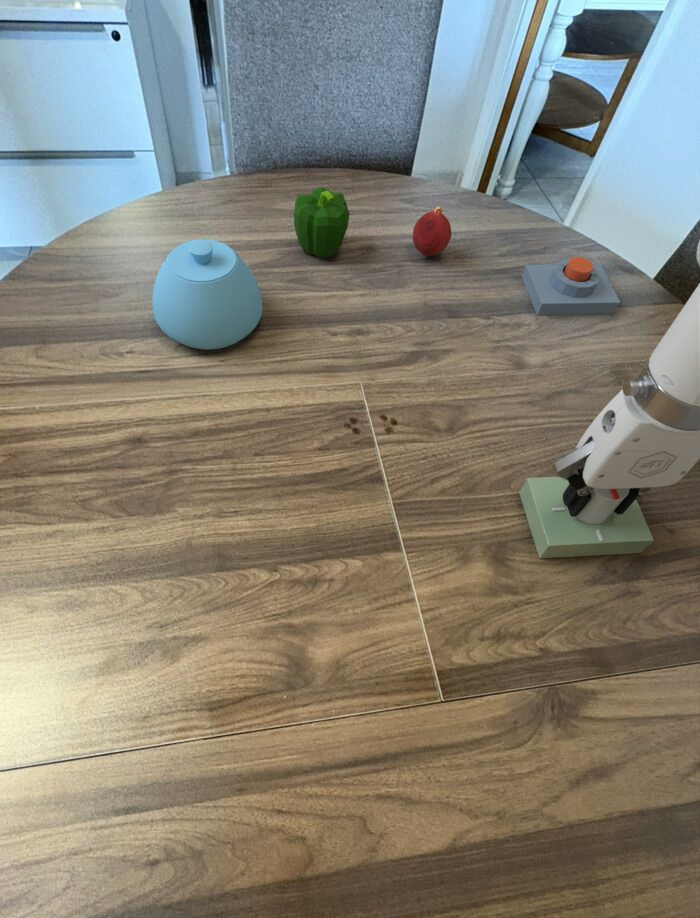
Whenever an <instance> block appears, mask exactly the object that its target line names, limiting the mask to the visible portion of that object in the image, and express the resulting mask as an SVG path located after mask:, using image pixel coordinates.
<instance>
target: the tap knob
mask: <svg viewBox="0 0 700 918" xmlns="http://www.w3.org/2000/svg"><path fill="white" fill-rule="evenodd" d="M629 490H630V488H623V489H596V488H595V489H594V490H593V491H592V492H590V493H591V499H590V501H589V502H588V503H587V504H586V506H585V507H584V508H583V510H582V511H581V512H580V514H579V515H577V516H576V517H577V518H578V519H580V520H581V521H583V522H585V523H588V524H600V523H603V522H604V521H606V520H607V518H608V517H609V516H610V515H611V514H612V513H613V511H614V510H615V509H616V508H617V507H618V506H619V504H620V503H621V502H622V501H623V500H624V499H625V497H626V496H627V495H628V493H629Z"/></svg>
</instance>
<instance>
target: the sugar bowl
mask: <svg viewBox="0 0 700 918" xmlns="http://www.w3.org/2000/svg"><path fill="white" fill-rule="evenodd" d="M262 298H263V297H262V294H261V289H260V287H259V284H258V281H257V280H256V277H255V275H254V274H253V272H252V271H251V269H250V267H249V266H248V265H247V263H246V262H245V261H244V260H243V259H242V258H241V256H240V255H239V254H238V253H237V252H236V251H235V250H233V248H232V247H230V246H229V245H227V244H226V243H224V242H221V241H219V240H215V239H209V238H208V239H207V238H201V239H200V238H198V239H192V240H188V241H185V242H183V243H181V244H179V245H177V246H175V247H174V248H173V249H172V250H171V251H170V252H169V253H168V255H167V257H166V258H165V260H164V262H163V263H162V265H161V267H160V269H159V271H158V273H157V275H156V278H155V281H154V285H153V289H152V298H151V299H152V300H151V301H152V306H151V307H152V313H153V317H154V321H155V323H156V324H157V325H158V327H159V329H160V330H162V332H163V333H164V334H165V335H167V336H168V337H169V338H171V339H172V340H173V341H175V342H177V343H179V344H181V345H183V346H185V347H189V348H192V349H196V350H205V351H210V350H211V351H213V350H220V349H224V348H228V347H231V346H233V345H235V344H237V343H239V342H240V341H242V340H243V339H245V338H246V337H247V336H248V335H249V334H251V333H252V331H254V330H255V329H256V327H258V324H259V322H260V320H261V318H262V315H263V309H264V307H263V299H262Z"/></svg>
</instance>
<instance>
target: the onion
mask: <svg viewBox="0 0 700 918" xmlns="http://www.w3.org/2000/svg"><path fill="white" fill-rule="evenodd" d="M443 211H444V210H443V208H442V207H441V206H436V207H435V208H434V209H433V210H432V211H429V212H426V213H424V214H423V215H422V216H421V217H420V218H419V219H418V220H417V221H416V222H415V225H414V227H413V229H412V244H413V245H414V248H415V250H417V251H418V253H421V254H422V255H423V256H425V257H431V256H435V255H437V254H440V253H441V252H443V251H444V250H445V249H446V248H447V247H448V245H449V243H450V241H451V239H452V234H453V233H452V227H451V222H450V221H449V219H448V218H447V217H446V216H445V215H444V214H443Z"/></svg>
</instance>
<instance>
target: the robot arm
mask: <svg viewBox="0 0 700 918" xmlns="http://www.w3.org/2000/svg"><path fill="white" fill-rule="evenodd" d="M695 255H696V257H695V258H696V261H697V264H698V266H699V267H700V240H699V241H698V243H697V247H696V254H695ZM699 460H700V282H699V283H698V285H697V287H696V288H694V290H693V292H692V293H691V295H690V297H689V298H688V300H687V301H686V302H685V304H684V306H683V307H682V308H681V310H680V312H679V313H678V314H677V316H676V317H675V319H674V320H673V322H672V323H671V325H670V326H669V327H668V329H667V331H666V332H665V334H664V335H663V336H662V338H661V339H660V341H659V342H658V344H657V345H656V347H655V348H654V349H653V351H652V353H651V355H649V357H648V359H647V360H646V362H645V363H644V365H643V366H642V368H641V369H640V371H639V372H638V374H637V375H636V377H635V378H634V379H632V380H631V379H630V380H629V379H628V380H626V381H625V382H624V383H623V385H622V389H621V390H620V391H618V393H617V394H615V396H614V397H613V398H612V399H611V400H610V401H609V402H608V403H607V404H606V405H605V406H604V408H602V410H601V411H600V412H599V413H598V414H597V415H596V417H595V418H594V419H593V420H592V422H591V423H590V425H589V426H588V427H587V429H586V430H585V431H584V433H583V435H582V436H581V437H580V439H579V441H578V443H577V444H576V445H575V449H574V450H573V451H572V452H570V453H568V454H566V455H564V456H563V457H561V458H560V459H557V460H556V461H554V462H553V464H552V466H553V469H554V473H555V475H556V477H561V478H563V479H564V480H568V482H569V485H568V487H567V488H566V490H565V491H564V493H563V502H564V504H565V506H567V507H568V510H569V513H570V516H571V517H574V516H577V515H579V514H580V512H581V511H582V510H583V508H584V507H585V506H586V504H587V503H588V502H589V501H590V499H591V493H590V492H592V491H593V490H594V489H595V488H596V489H623V488H630V490H629V493H628V495H627V496H626V497H625V499H624V500H623V501H622V502H621V503H620V504H619V506H618V507H617V508H616V509H615V510H614V512H615V513H616V514H623V513H624V512H625V511H626V510H627V509H628V507H629V506H630V505H631V504H632V503H633V502H634V501H635V500H637V499H638V498H639V496H640V495H639V494H646V493H648V492H650V491H651V489H652V488H661V487H667V486H672V485H675V484H677V483H679V482H680V481H681V480H682V479H683V478H684V477H685V476H686V475H687V474H688V473H689V472H690V470H691V469H692V468H694V466H695V464H696V463H697V462H698V461H699Z"/></svg>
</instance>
